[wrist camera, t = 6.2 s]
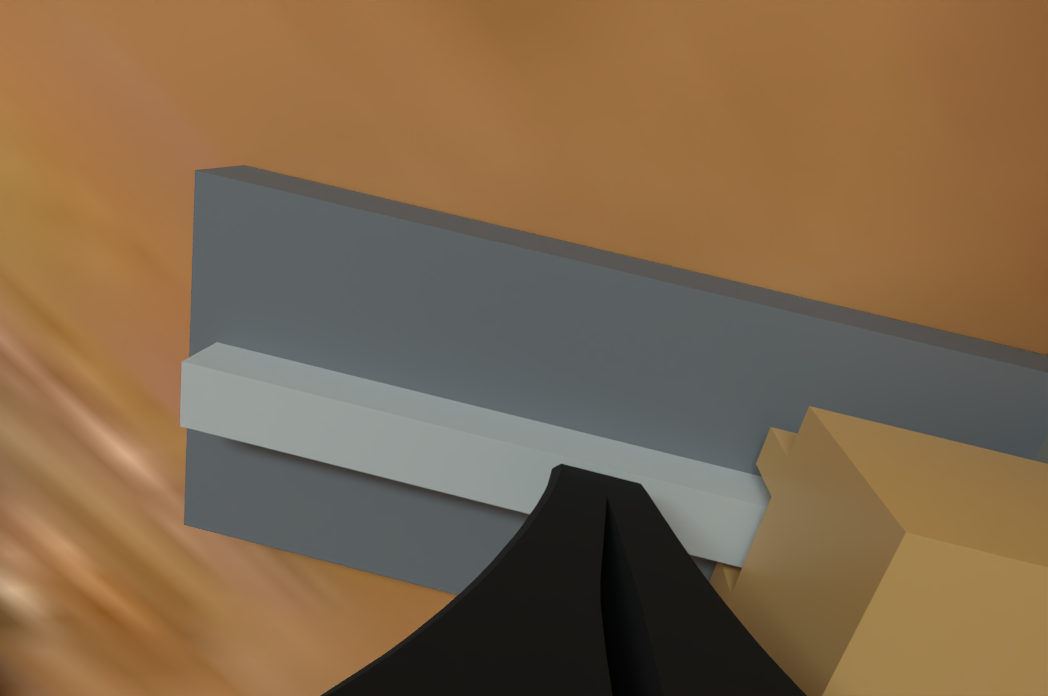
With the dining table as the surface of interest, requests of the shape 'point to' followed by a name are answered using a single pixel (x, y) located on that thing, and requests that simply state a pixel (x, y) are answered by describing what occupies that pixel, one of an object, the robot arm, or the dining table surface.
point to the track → (517, 381)
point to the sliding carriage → (896, 563)
